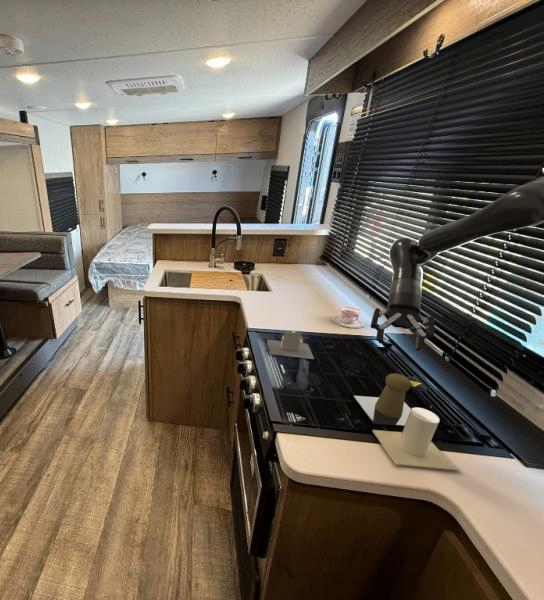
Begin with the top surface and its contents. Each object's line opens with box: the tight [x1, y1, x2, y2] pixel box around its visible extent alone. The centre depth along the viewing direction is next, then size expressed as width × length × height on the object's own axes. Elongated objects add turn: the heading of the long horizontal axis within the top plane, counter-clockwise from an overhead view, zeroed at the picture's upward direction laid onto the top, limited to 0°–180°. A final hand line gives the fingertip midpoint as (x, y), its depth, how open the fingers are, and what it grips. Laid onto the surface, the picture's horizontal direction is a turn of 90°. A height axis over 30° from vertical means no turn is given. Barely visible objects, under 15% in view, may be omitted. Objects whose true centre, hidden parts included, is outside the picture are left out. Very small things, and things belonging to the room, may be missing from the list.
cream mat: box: [372, 429, 457, 471], centre depth 73 cm, size 12×10×1 cm
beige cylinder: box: [398, 407, 441, 457], centre depth 71 cm, size 5×5×10 cm
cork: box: [375, 373, 412, 418], centre depth 83 cm, size 6×6×11 cm
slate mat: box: [352, 395, 412, 428], centre depth 85 cm, size 13×11×1 cm
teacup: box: [331, 305, 365, 329], centre depth 135 cm, size 12×12×6 cm
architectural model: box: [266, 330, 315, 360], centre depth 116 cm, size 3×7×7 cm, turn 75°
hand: (398, 346), depth 88 cm, fingers open, 8 cm apart
